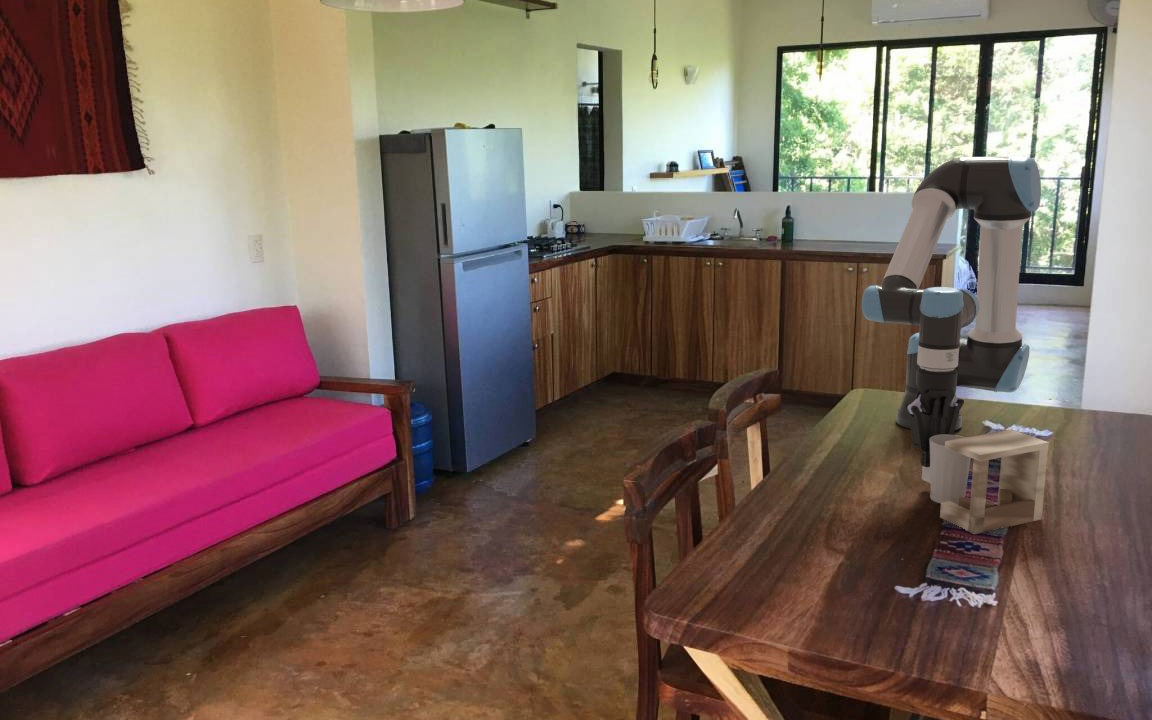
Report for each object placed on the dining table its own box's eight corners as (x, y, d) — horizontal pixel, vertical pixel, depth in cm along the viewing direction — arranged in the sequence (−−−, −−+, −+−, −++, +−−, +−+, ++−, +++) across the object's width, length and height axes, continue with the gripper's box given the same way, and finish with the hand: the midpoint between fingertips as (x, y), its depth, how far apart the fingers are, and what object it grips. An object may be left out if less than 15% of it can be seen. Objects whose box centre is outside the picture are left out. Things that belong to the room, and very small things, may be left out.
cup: (970, 508, 179) (975, 448, 176) (926, 504, 181) (930, 445, 178) (967, 493, 186) (972, 436, 183) (925, 489, 188) (928, 432, 186)
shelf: (940, 517, 175) (945, 441, 171) (1005, 503, 180) (1011, 429, 177) (974, 534, 167) (980, 455, 164) (1041, 519, 173) (1048, 442, 169)
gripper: (924, 375, 177) (916, 492, 182) (977, 367, 181) (968, 482, 187) (897, 366, 183) (890, 479, 189) (949, 359, 188) (941, 470, 193)
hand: (929, 480), depth 188 cm, fingers closed
